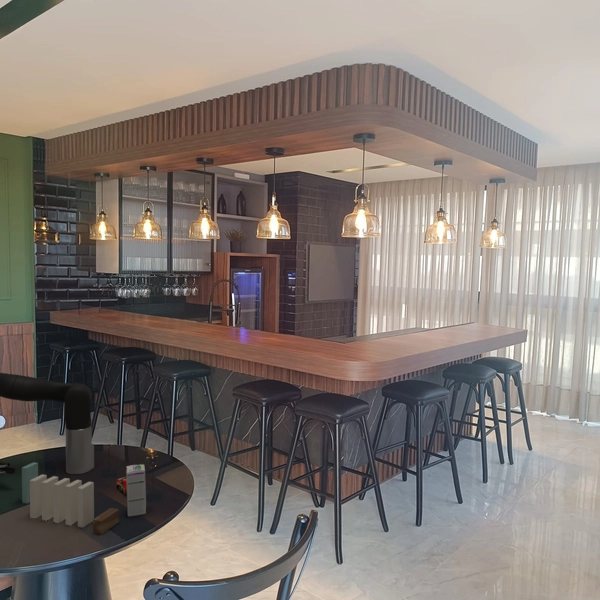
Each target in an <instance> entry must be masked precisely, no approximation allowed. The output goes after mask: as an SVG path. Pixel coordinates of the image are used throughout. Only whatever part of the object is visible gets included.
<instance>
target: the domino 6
mask: <svg viewBox="0 0 600 600" xmlns="http://www.w3.org/2000/svg"><path fill="white" fill-rule="evenodd" d="M94 491H95V483H94V482H93V481H87V482H85V483H83V484H82V486H80V487H78V488H77V497H78V521H77V528H85V527H86V526H88V525H90V524H91V523H93V519H95V493H94Z"/></svg>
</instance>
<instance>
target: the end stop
mask: <svg viewBox="0 0 600 600" xmlns="http://www.w3.org/2000/svg"><path fill="white" fill-rule="evenodd" d="M118 523H120V509H119V508H115V507H110V508H108V509H106V511H104V512H103V513H100V514H99V515H97V516H96V517H94V519H93V521H92V529H93V530H92V531H93V532H92V533H93V534H98V535H103V534H105V533H106V532H107V531H108V530H110V529H111V528H113V527H114V526H116V525H117V524H118Z"/></svg>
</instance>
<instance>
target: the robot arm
mask: <svg viewBox="0 0 600 600" xmlns="http://www.w3.org/2000/svg"><path fill="white" fill-rule="evenodd" d="M0 397H1V398H4V399H8V400H11V401H12V400H13V401H19V402H44V401H53V402H59V403H63V407H64V408H63V410H64V411H63V412H64V414H63V415H64V424H65V472H66V474H69V475H82V474H86V473H87V472H90V471H91V470H92V469H95V445H94V444H93V443H92V442H93V441H92V438H93V437H92V434H93V433H92V417H91V416H92V415H91V413H92V412H91V400H92V398H93V392H92V389H91V388H90V387H89V386H88V385H86V384H84V383H71V382H70V383H69V382H58V381H57V382H56V381H51V380H47V379H43V378H39V377H32V376H28V375H27V376H26V375H20V374H13V373H4V372H0ZM3 473H5V474H9V475H14V474H15V473H16V467H15V466H11V462H7V461H0V474H3Z"/></svg>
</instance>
